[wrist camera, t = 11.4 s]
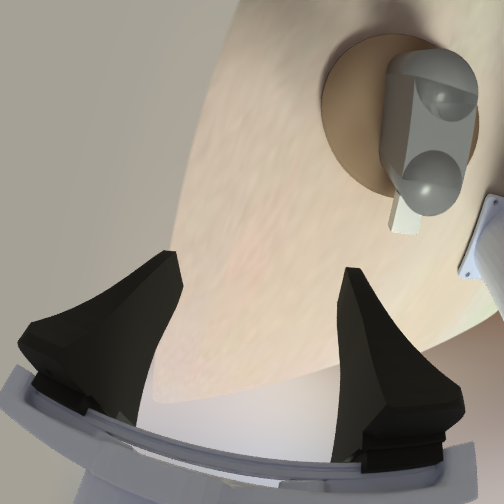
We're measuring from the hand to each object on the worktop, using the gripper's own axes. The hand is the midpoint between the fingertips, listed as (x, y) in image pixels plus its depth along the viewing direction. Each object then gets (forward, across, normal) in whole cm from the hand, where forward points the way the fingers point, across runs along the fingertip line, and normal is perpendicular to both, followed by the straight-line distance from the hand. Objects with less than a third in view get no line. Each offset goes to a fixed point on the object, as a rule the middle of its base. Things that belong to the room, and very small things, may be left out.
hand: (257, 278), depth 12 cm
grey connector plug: (+9, -8, -5) cm, 13 cm away
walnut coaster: (+9, -8, -6) cm, 14 cm away
